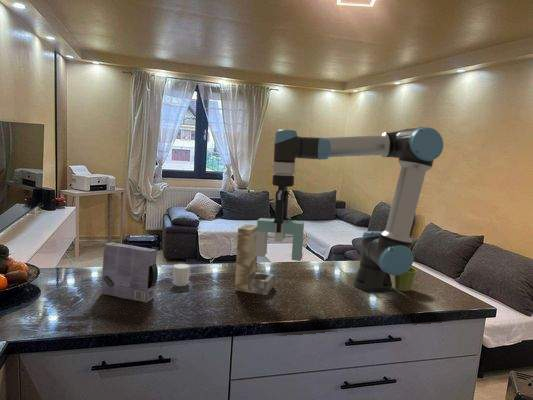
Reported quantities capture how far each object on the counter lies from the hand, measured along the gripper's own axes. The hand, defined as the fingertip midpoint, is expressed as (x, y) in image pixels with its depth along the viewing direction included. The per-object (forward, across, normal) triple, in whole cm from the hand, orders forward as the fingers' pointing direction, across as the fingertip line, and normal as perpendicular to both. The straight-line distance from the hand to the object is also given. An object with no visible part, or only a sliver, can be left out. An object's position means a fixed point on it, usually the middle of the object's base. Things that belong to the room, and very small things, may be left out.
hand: (279, 239), depth 139 cm
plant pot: (+22, -28, +47) cm, 59 cm away
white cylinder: (+21, 0, -37) cm, 43 cm away
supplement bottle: (+21, -19, -16) cm, 33 cm away
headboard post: (+21, -5, -10) cm, 24 cm away
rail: (+6, 0, 0) cm, 6 cm away
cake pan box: (+21, +19, -48) cm, 56 cm away
